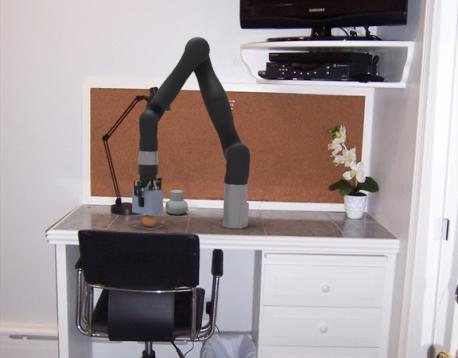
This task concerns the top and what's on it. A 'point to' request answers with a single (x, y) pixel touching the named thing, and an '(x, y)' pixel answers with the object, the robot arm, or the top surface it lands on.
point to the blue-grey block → (149, 202)
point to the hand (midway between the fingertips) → (147, 205)
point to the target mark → (147, 227)
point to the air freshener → (176, 203)
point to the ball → (149, 220)
